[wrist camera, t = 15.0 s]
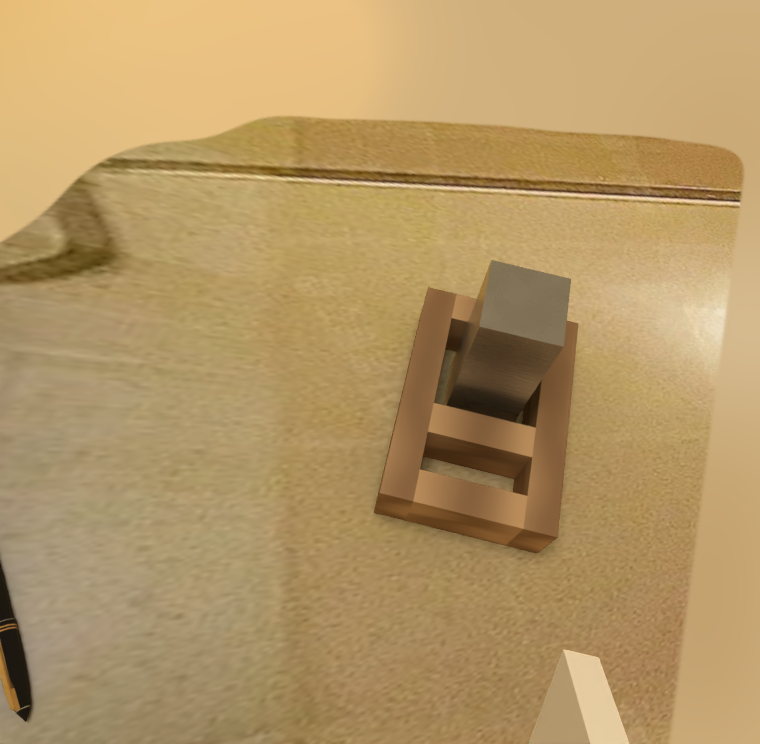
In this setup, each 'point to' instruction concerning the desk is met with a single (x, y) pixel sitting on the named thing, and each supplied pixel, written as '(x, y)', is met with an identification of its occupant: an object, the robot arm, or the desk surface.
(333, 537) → the desk surface
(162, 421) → the desk surface
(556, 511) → the wooden slotted frame
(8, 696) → the fountain pen
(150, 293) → the desk surface
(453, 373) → the grey tall rectangular block
